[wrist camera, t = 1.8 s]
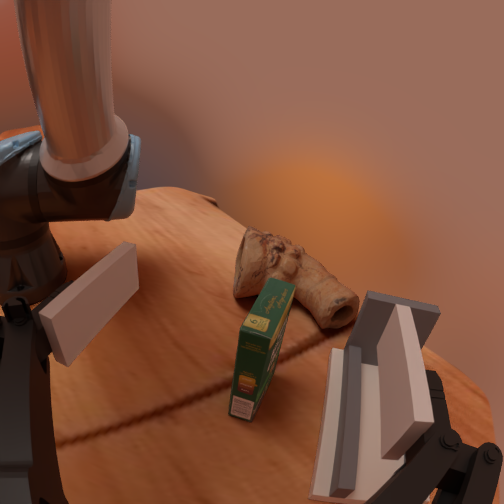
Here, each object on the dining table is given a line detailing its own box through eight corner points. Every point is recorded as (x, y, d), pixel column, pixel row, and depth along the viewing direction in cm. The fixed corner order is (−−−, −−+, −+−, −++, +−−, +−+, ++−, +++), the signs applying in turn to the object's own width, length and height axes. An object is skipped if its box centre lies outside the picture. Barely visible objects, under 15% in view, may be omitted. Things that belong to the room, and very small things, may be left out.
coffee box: (252, 427, 29) (273, 337, 23) (225, 417, 30) (236, 325, 24) (275, 374, 36) (298, 282, 30) (252, 366, 37) (269, 274, 30)
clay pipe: (276, 283, 60) (203, 273, 51) (300, 231, 57) (227, 212, 48) (339, 348, 45) (258, 353, 37) (375, 287, 42) (297, 276, 34)
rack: (307, 498, 22) (351, 449, 17) (329, 355, 39) (354, 286, 34) (421, 506, 20) (491, 455, 15) (411, 370, 38) (447, 306, 32)
